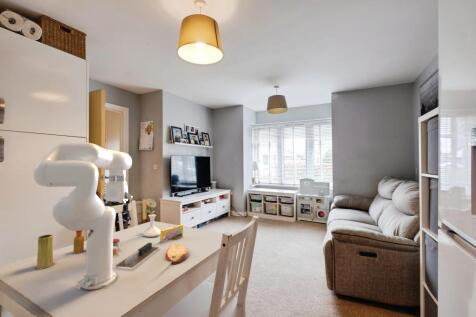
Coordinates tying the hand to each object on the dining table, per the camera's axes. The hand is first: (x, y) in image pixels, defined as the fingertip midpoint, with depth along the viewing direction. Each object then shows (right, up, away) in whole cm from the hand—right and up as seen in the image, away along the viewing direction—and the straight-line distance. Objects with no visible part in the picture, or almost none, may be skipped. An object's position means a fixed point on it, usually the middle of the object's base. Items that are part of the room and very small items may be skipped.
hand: (116, 211), depth 114 cm
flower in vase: (+4, -25, +36) cm, 44 cm away
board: (+11, -24, +1) cm, 27 cm away
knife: (+11, -23, 0) cm, 26 cm away
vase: (-30, -24, -8) cm, 39 cm away
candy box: (+21, -25, +27) cm, 42 cm away
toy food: (-14, -24, +8) cm, 29 cm away
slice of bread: (+29, -25, +5) cm, 39 cm away
